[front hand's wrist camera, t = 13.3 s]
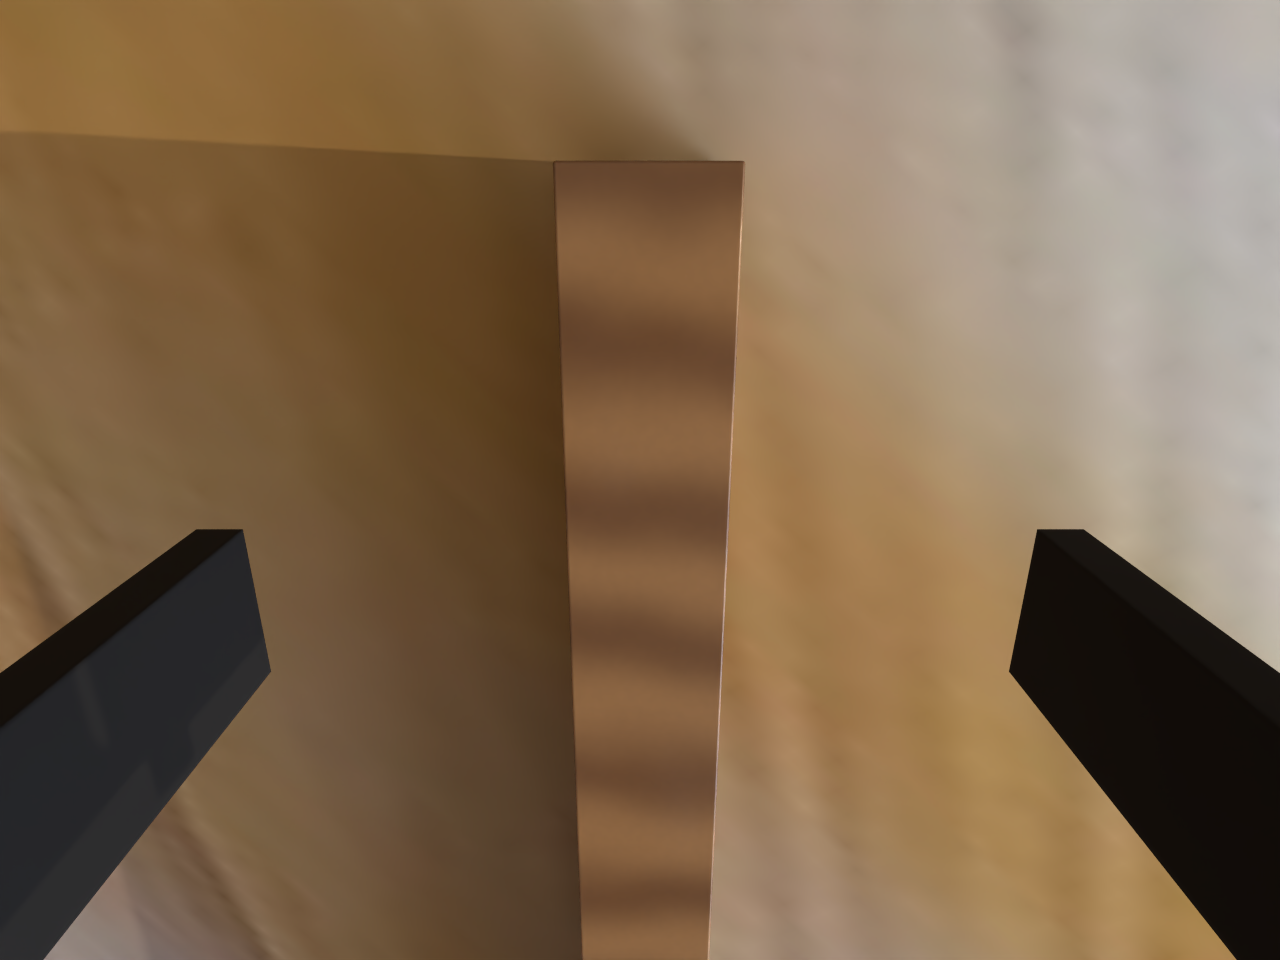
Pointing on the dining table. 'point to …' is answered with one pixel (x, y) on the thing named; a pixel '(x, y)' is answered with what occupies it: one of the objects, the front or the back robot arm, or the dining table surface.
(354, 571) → the dining table surface
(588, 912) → the beam
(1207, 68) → the dining table surface
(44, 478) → the dining table surface
